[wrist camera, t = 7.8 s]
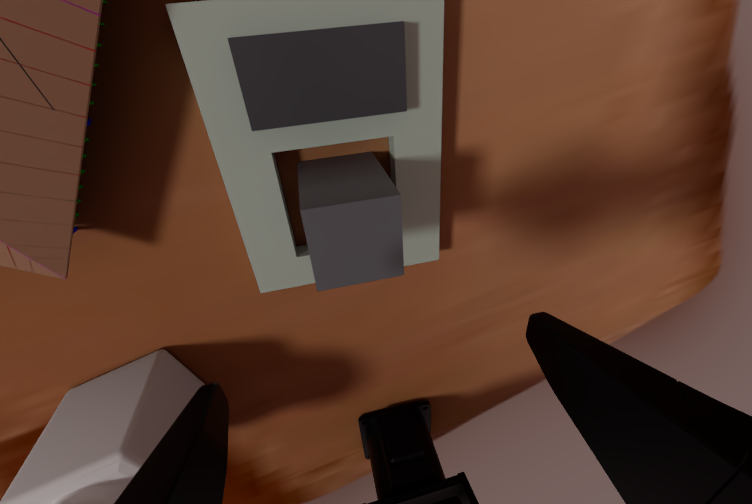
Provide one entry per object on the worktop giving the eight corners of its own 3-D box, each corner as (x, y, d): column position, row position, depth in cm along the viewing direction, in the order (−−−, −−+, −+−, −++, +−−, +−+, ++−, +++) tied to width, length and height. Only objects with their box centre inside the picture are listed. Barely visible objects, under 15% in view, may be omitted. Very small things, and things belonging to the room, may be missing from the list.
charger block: (377, 217, 21) (404, 275, 16) (310, 228, 21) (317, 291, 16) (371, 151, 19) (400, 194, 14) (296, 161, 19) (300, 210, 14)
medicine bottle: (144, 438, 27) (61, 675, 17) (66, 388, 23) (-101, 659, 13) (228, 401, 27) (193, 620, 17) (164, 344, 23) (69, 586, 13)
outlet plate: (432, 249, 23) (443, 266, 22) (261, 281, 22) (259, 301, 20) (434, -17, 16) (451, -22, 14) (173, 5, 14) (158, 2, 13)
